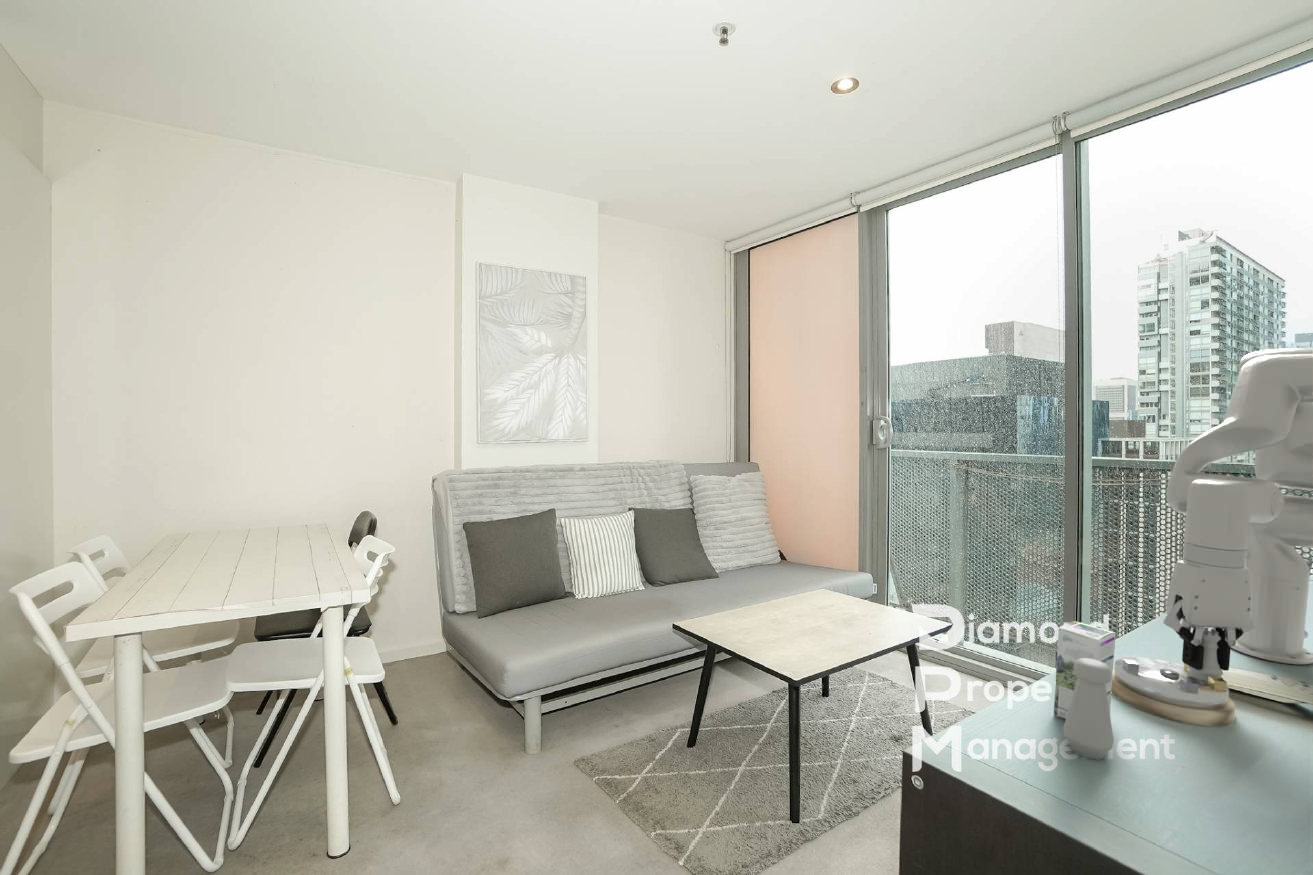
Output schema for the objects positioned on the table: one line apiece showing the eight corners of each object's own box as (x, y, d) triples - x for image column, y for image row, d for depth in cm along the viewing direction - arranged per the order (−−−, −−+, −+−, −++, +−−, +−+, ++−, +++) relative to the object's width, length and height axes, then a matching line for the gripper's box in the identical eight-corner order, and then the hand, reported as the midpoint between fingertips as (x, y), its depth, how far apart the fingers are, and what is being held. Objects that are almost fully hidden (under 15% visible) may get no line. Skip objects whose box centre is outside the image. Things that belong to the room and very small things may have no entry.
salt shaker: (1121, 766, 82) (1128, 673, 81) (1074, 760, 83) (1080, 669, 82) (1099, 742, 88) (1105, 655, 87) (1055, 737, 89) (1060, 651, 88)
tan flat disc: (1143, 671, 111) (1144, 660, 111) (1256, 715, 96) (1257, 702, 96) (1085, 686, 105) (1086, 674, 105) (1196, 734, 90) (1197, 721, 90)
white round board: (1137, 661, 110) (1139, 642, 110) (1243, 696, 98) (1245, 674, 97) (1097, 678, 103) (1098, 658, 103) (1205, 718, 90) (1207, 695, 90)
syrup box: (1111, 723, 93) (1117, 631, 92) (1093, 733, 90) (1099, 638, 89) (1069, 706, 98) (1075, 619, 97) (1051, 716, 95) (1057, 626, 94)
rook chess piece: (1186, 669, 102) (1190, 623, 102) (1223, 677, 99) (1226, 630, 99) (1185, 677, 99) (1189, 630, 98) (1223, 687, 96) (1226, 637, 95)
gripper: (1244, 551, 101) (1235, 658, 103) (1143, 549, 102) (1135, 655, 103) (1290, 563, 94) (1279, 678, 95) (1181, 561, 94) (1172, 675, 96)
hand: (1204, 665), depth 99 cm, fingers closed on rook chess piece, 3 cm apart
